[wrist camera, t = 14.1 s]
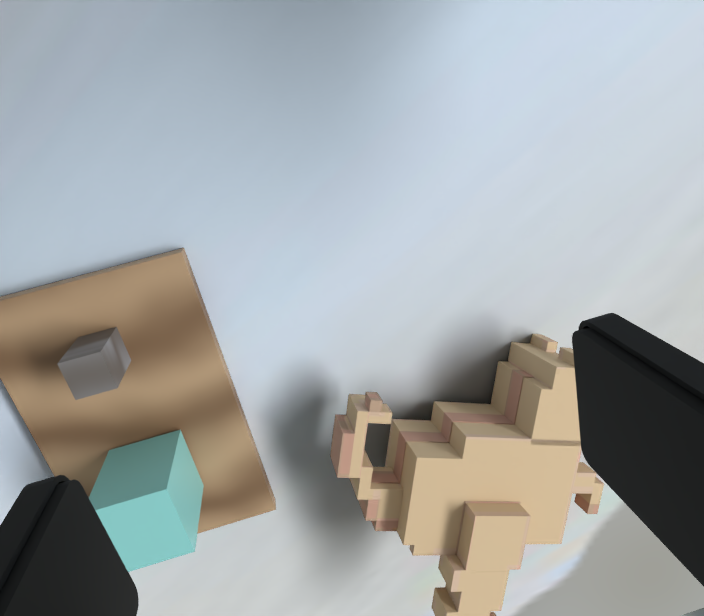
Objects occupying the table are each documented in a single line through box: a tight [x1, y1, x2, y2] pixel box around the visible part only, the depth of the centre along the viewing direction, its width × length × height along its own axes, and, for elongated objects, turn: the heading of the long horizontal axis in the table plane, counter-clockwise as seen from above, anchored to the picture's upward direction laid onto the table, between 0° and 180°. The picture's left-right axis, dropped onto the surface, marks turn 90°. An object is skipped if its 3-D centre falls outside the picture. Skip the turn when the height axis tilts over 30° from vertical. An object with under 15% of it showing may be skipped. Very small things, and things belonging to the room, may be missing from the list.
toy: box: [330, 334, 604, 616], centre depth 40 cm, size 10×20×20 cm
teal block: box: [89, 430, 204, 572], centre depth 37 cm, size 5×5×7 cm
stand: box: [0, 248, 276, 534], centre depth 37 cm, size 22×14×5 cm, turn 13°
